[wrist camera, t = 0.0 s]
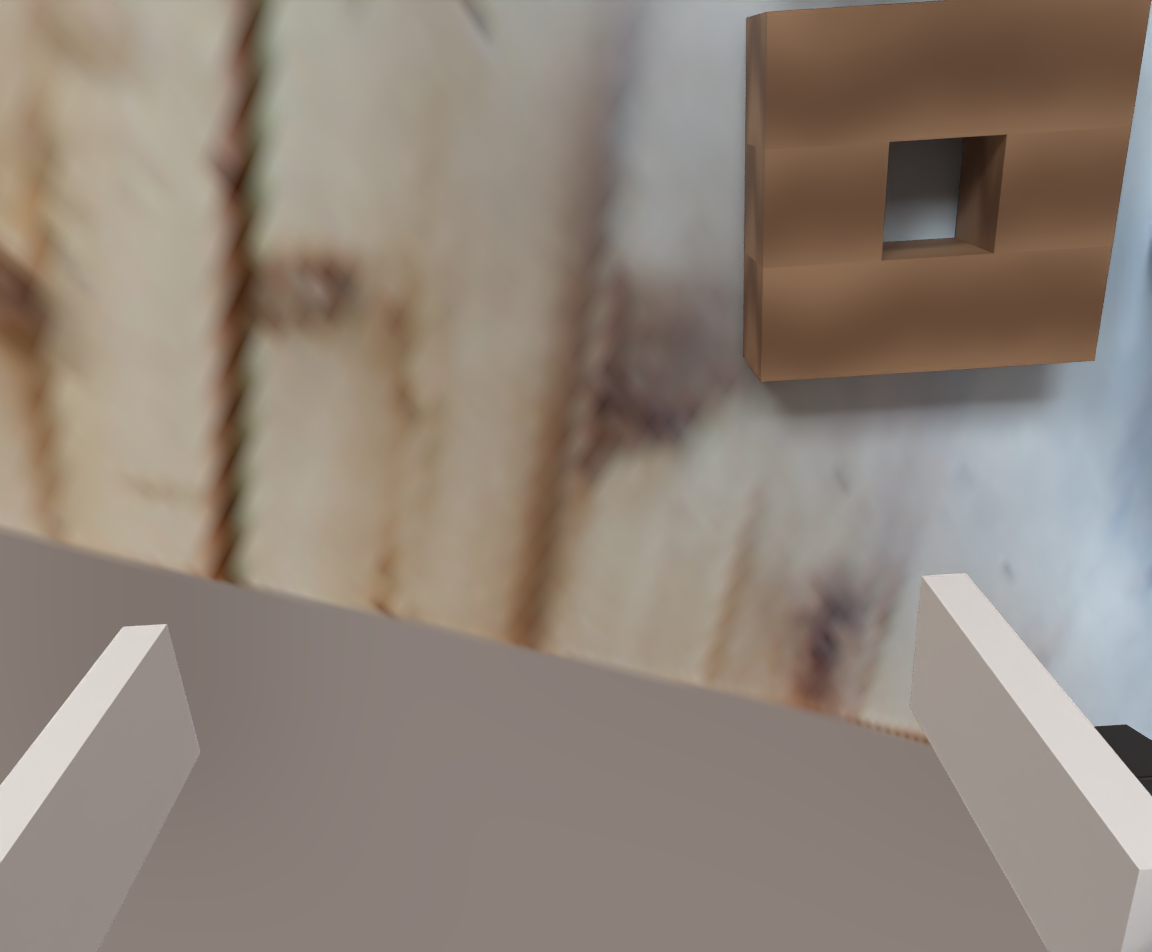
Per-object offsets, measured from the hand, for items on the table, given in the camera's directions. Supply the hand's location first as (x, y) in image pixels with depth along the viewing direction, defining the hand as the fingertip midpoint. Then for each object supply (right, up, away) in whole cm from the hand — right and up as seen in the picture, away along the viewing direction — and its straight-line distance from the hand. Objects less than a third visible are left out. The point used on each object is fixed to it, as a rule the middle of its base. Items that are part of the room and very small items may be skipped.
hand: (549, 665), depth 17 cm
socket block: (+15, +16, +24) cm, 32 cm away
